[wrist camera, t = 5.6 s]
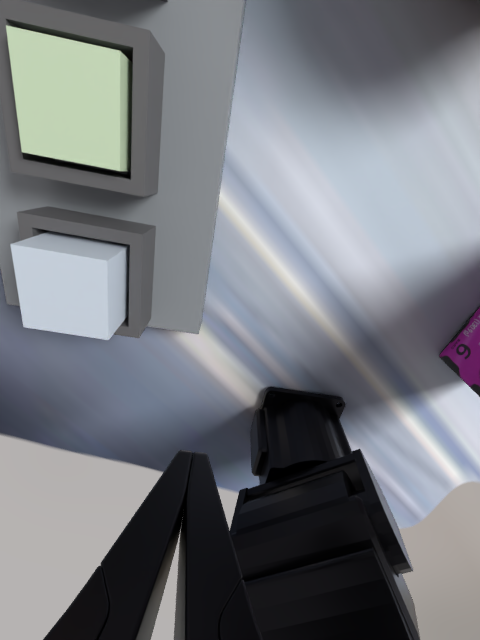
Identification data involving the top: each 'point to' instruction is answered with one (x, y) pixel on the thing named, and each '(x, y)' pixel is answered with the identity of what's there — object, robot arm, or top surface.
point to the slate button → (72, 284)
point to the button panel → (133, 149)
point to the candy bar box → (466, 353)
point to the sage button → (72, 99)
